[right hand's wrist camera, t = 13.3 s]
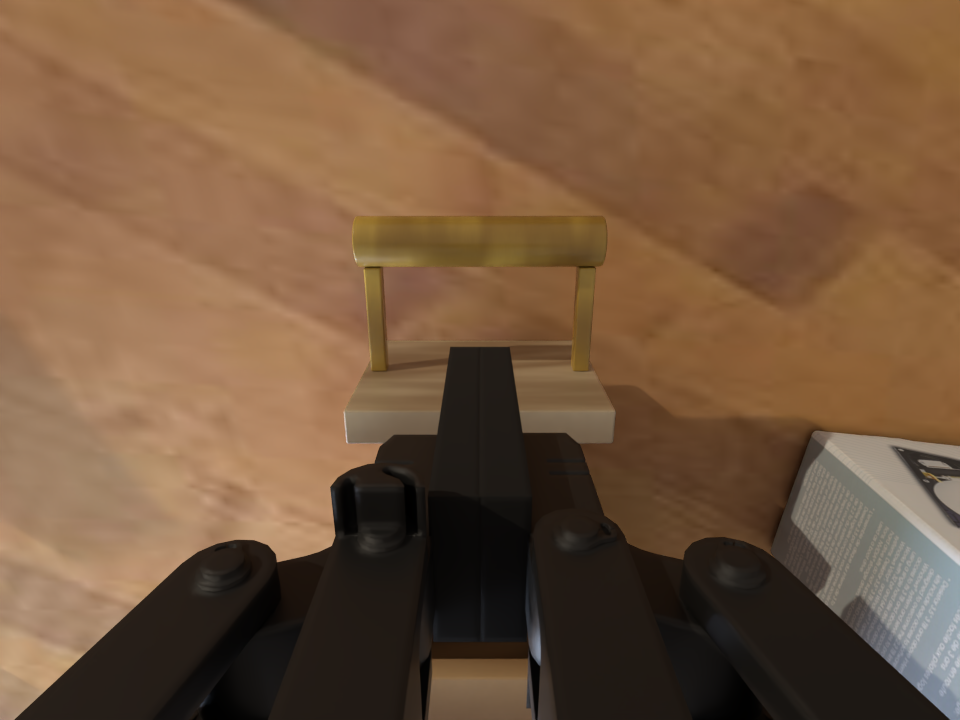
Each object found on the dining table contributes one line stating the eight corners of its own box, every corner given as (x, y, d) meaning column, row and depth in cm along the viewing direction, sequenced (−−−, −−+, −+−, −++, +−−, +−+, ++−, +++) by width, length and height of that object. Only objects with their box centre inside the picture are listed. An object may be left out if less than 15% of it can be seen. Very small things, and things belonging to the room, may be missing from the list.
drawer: (371, 206, 23) (326, 230, 16) (587, 206, 23) (633, 230, 16) (397, 610, 30) (374, 743, 23) (562, 610, 30) (585, 743, 23)
